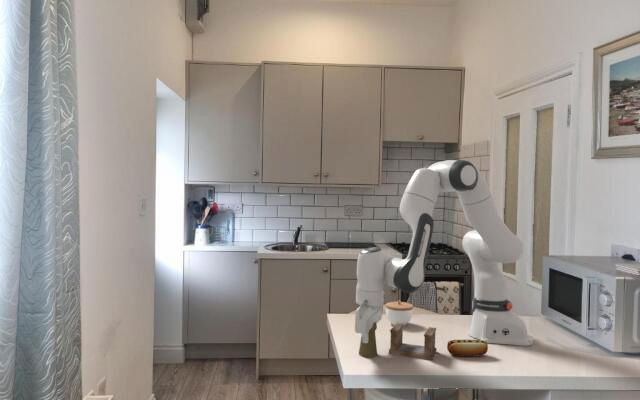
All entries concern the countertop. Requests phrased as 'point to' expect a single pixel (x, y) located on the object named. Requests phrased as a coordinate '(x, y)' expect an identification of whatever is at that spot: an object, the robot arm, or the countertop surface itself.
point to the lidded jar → (399, 312)
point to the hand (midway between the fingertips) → (368, 340)
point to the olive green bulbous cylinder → (369, 344)
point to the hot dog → (467, 347)
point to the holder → (409, 349)
